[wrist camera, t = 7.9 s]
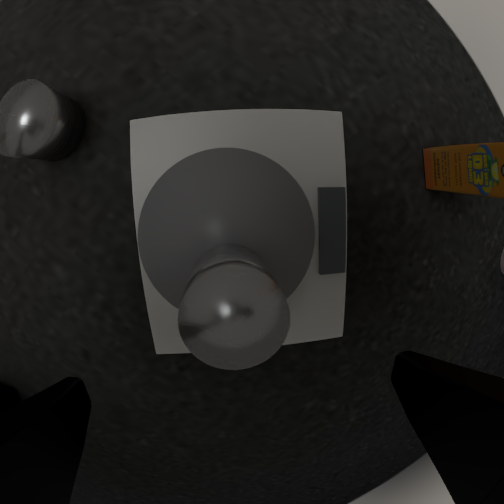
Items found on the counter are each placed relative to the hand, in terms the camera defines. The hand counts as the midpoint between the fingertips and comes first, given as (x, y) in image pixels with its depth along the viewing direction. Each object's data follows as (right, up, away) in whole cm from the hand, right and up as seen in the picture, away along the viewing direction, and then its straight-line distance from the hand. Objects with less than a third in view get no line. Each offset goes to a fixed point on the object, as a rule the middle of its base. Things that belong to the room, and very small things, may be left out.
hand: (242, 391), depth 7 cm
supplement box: (+14, +10, +12) cm, 21 cm away
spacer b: (-13, +12, +8) cm, 19 cm away
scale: (0, +5, +11) cm, 12 cm away
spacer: (-1, +2, +9) cm, 9 cm away
